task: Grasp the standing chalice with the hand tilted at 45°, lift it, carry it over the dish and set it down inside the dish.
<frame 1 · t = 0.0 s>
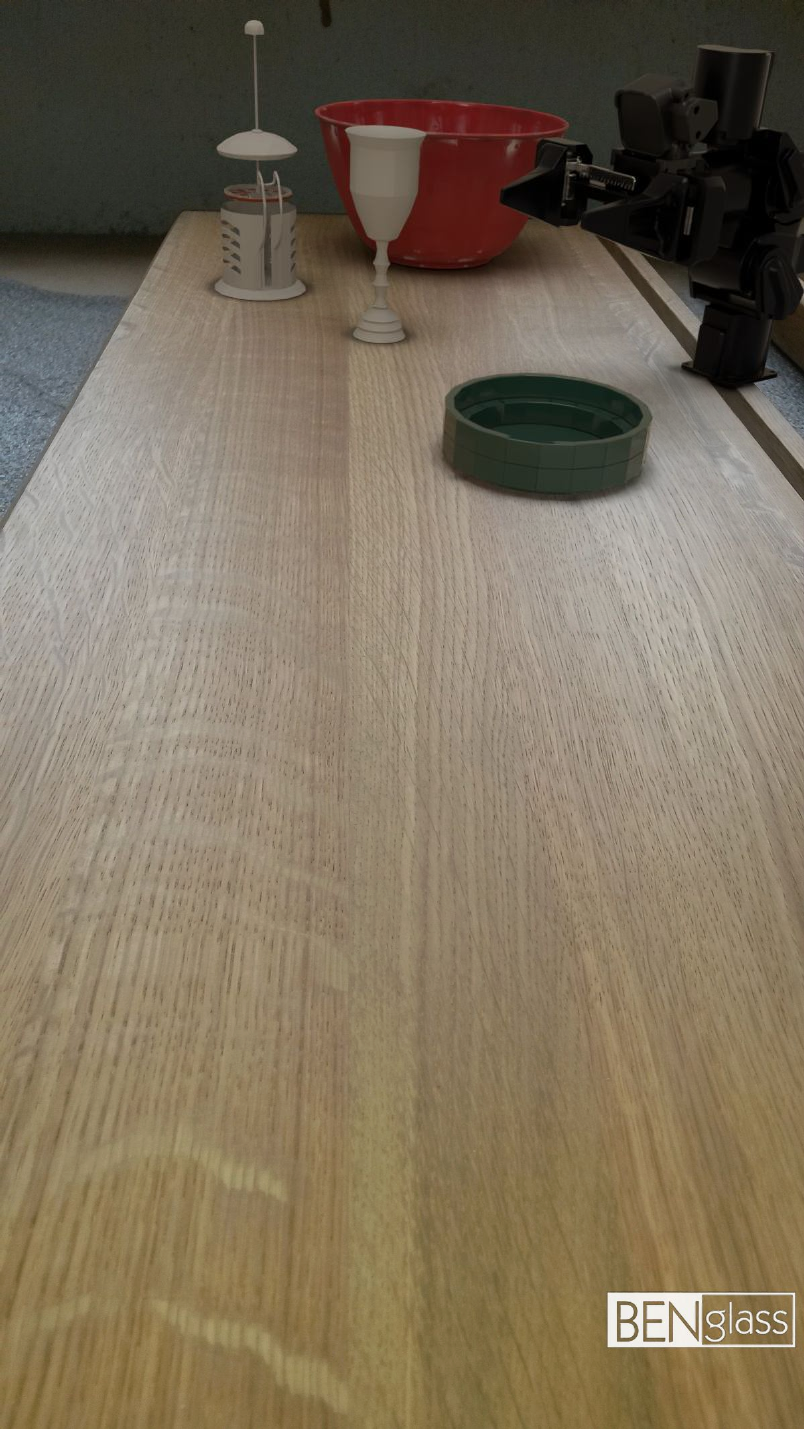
hand: (540, 208, 91), 17 cm above the table, tool horizontal, fingers open, 9 cm apart
chalice: (379, 337, 118), on the table
mixing bowl: (434, 257, 145), on the table
dish: (541, 459, 93), on the table
french press: (262, 291, 130), on the table
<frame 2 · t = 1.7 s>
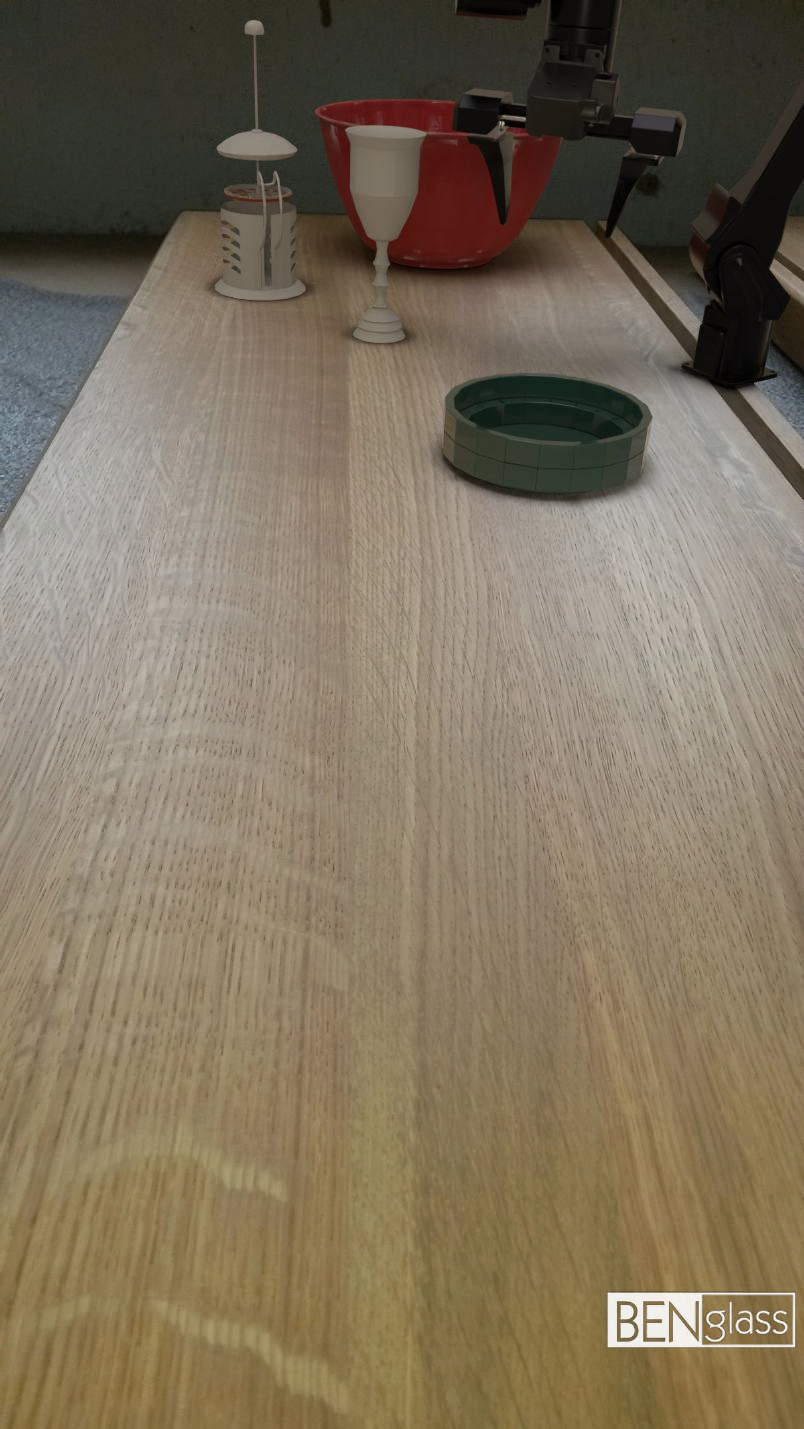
hand: (555, 231, 106), 12 cm above the table, tool pointing down, fingers open, 9 cm apart
nothing on the table moved.
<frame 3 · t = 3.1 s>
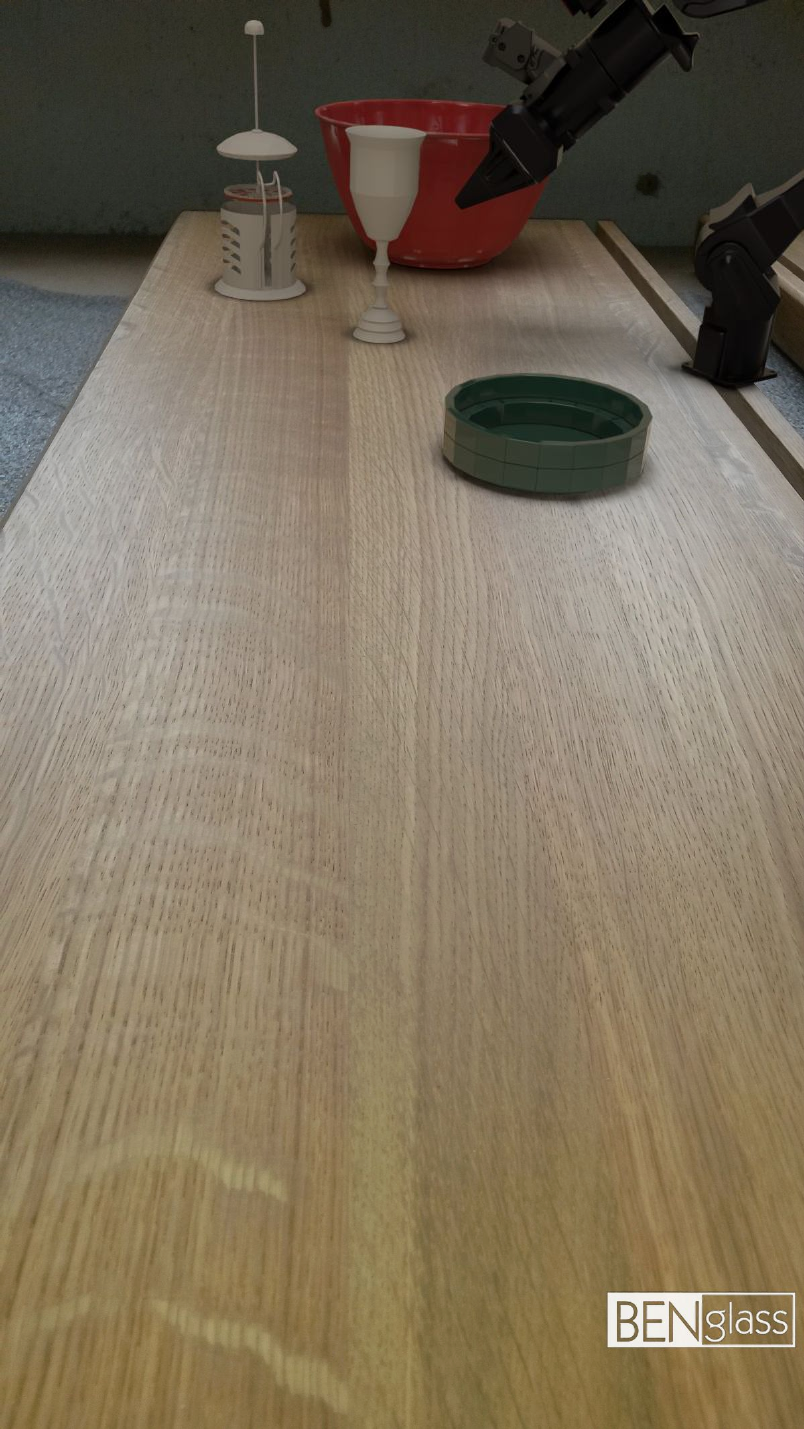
hand: (467, 195, 109), 13 cm above the table, tool tilted 45°, fingers open, 9 cm apart
nothing on the table moved.
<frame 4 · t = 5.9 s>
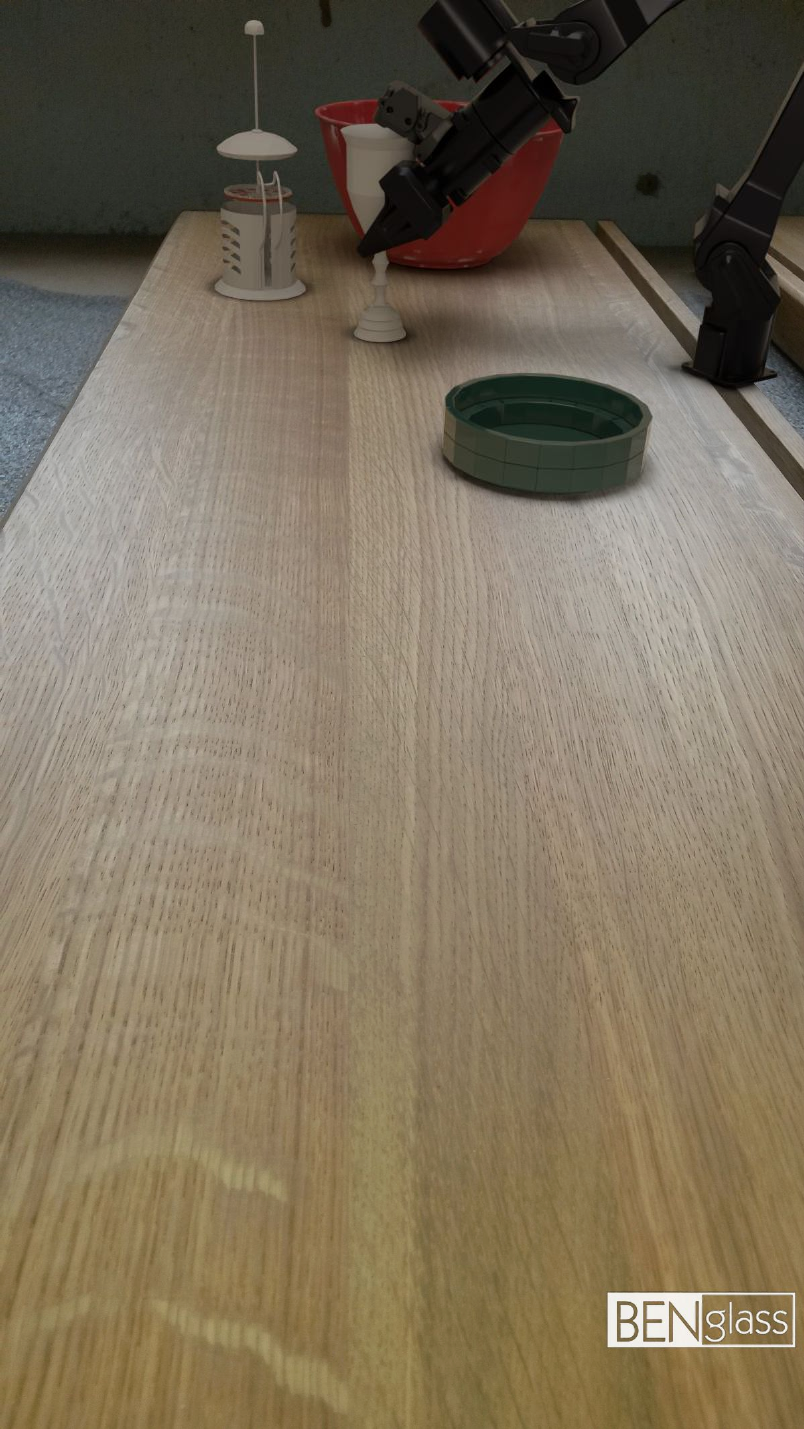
hand: (367, 246, 114), 8 cm above the table, tool tilted 45°, fingers closed on chalice, 5 cm apart
chalice: (380, 335, 118), on the table, touching gripper
everything else where it was.
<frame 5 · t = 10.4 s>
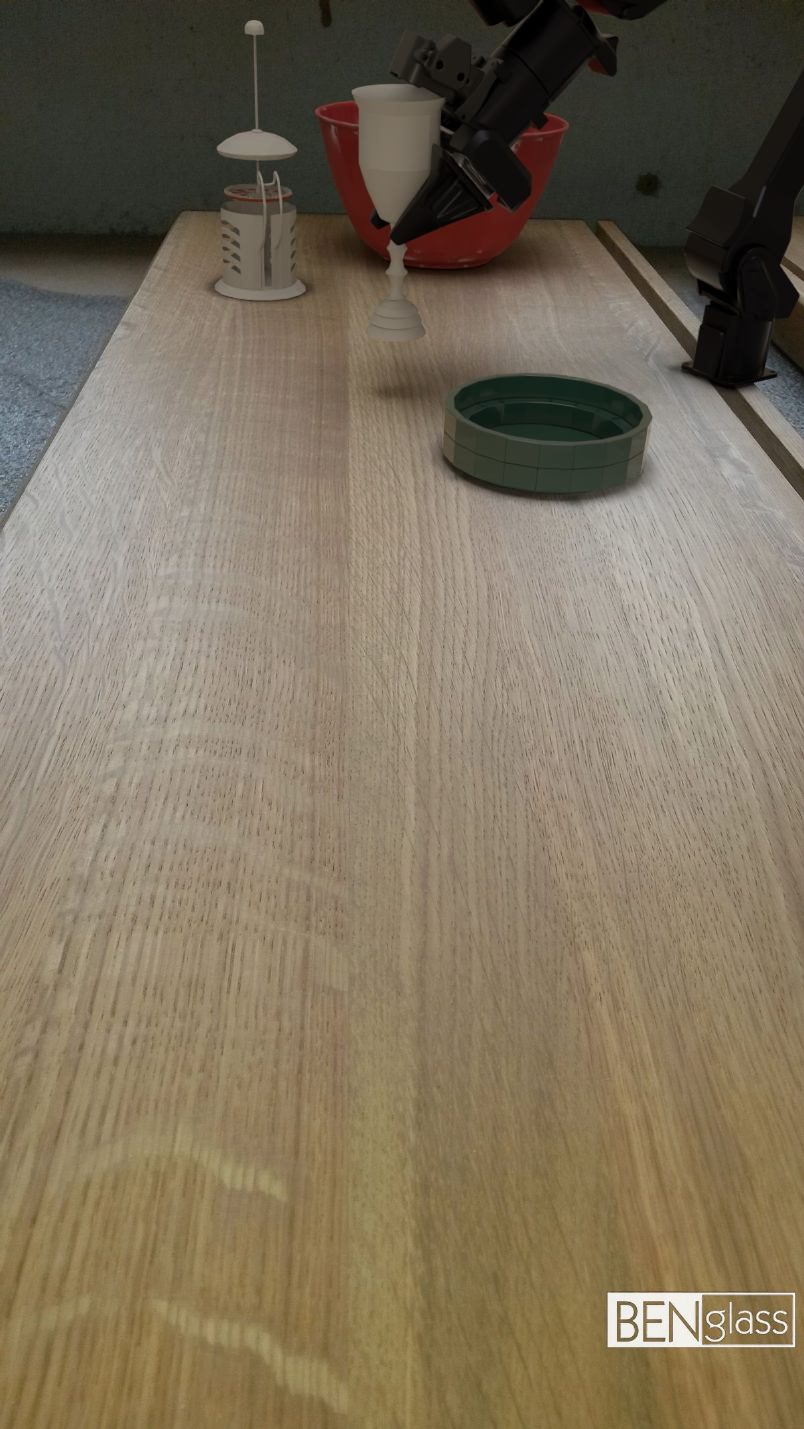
hand: (382, 233, 96), 13 cm above the table, tool tilted 45°, fingers closed on chalice, 5 cm apart
chalice: (395, 333, 102), point 5 cm above the table, touching gripper
everything else where it was.
when the fingers open (9 cm above the table, at t = 15.1 s): chalice stays where it is, resting on dish.
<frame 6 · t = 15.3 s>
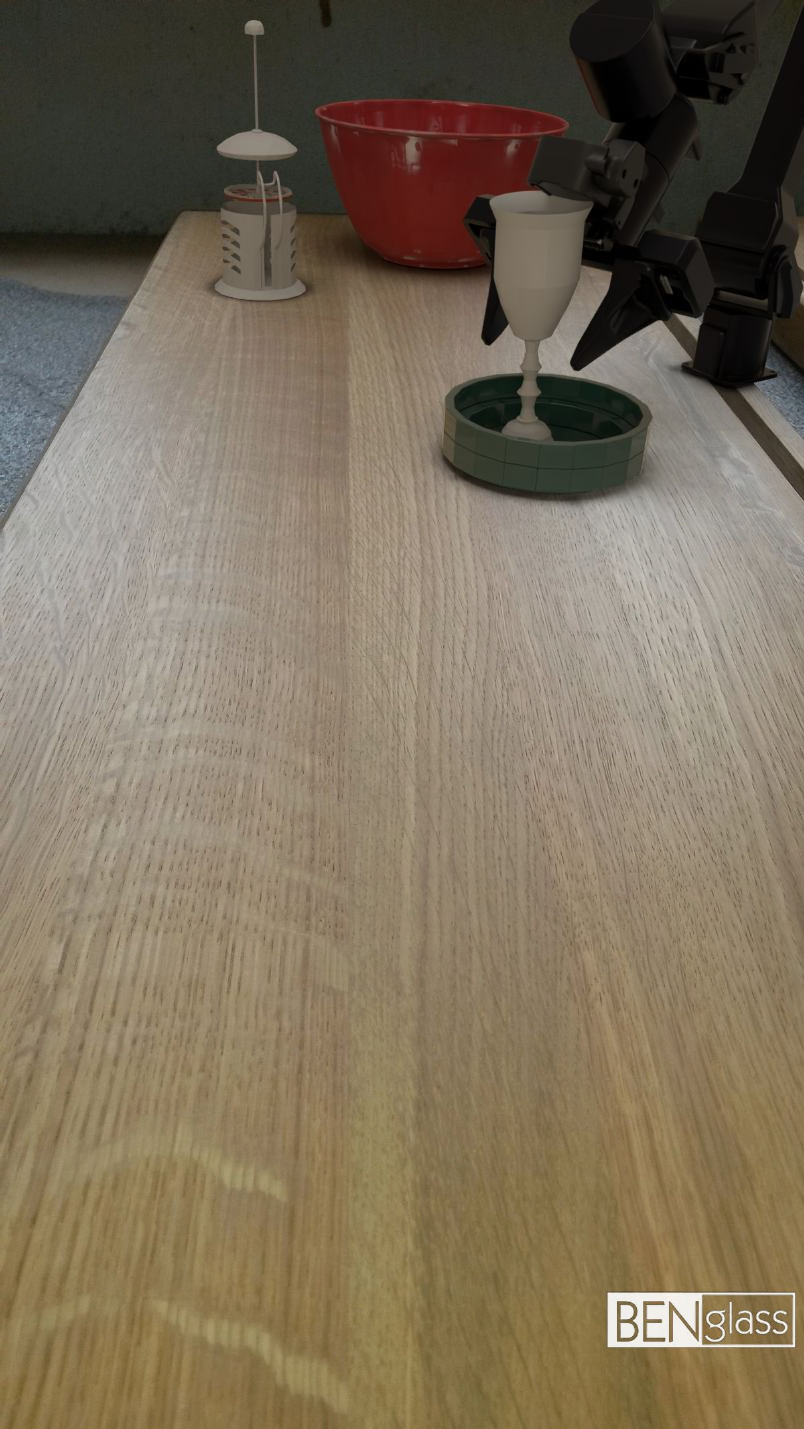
hand: (528, 354, 86), 9 cm above the table, tool tilted 45°, fingers open, 7 cm apart
chalice: (524, 456, 92), point 1 cm above the table, touching gripper, dish
everything else where it was.
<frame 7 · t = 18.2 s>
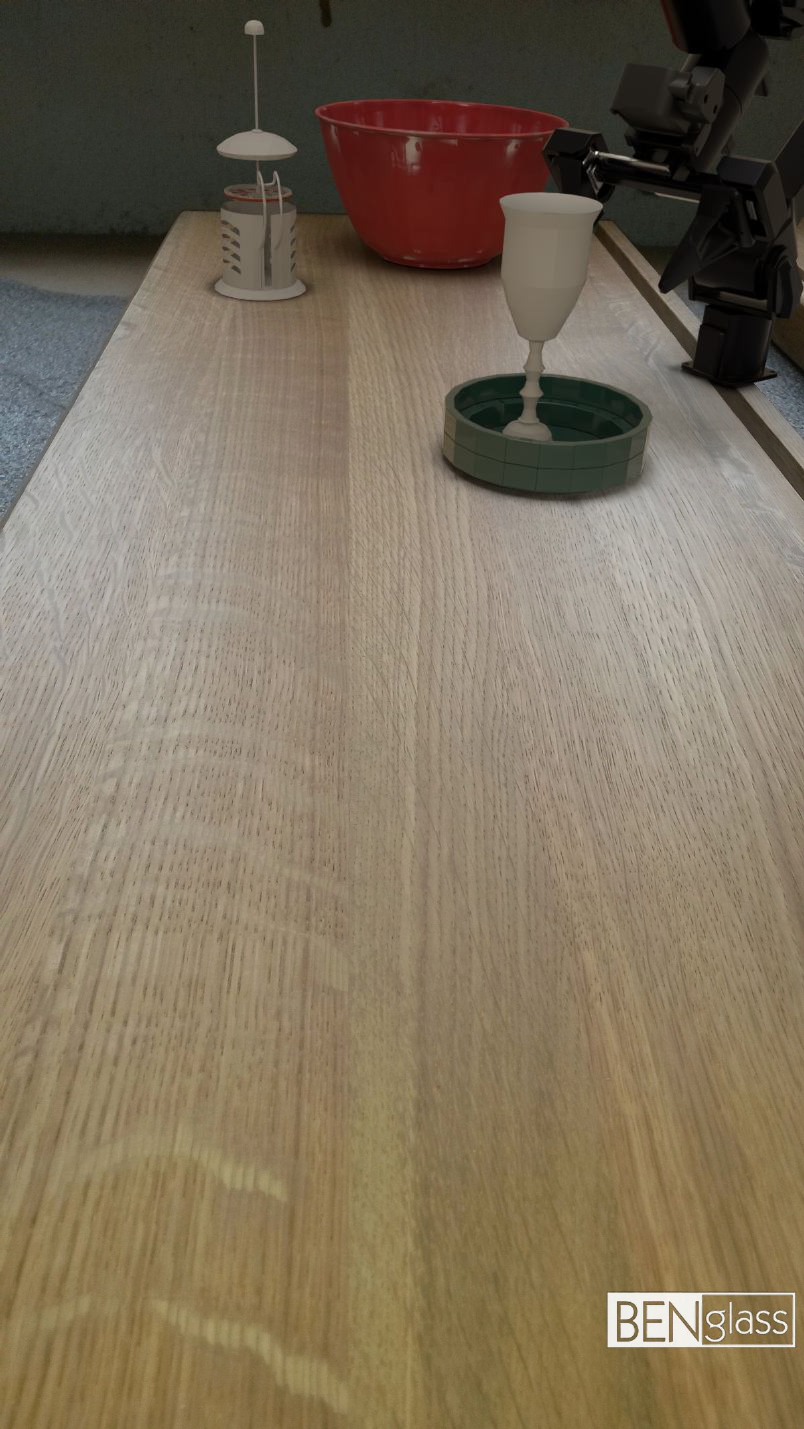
hand: (607, 277, 90), 13 cm above the table, tool tilted 45°, fingers open, 9 cm apart
chalice: (524, 457, 92), resting on dish
everything else where it was.
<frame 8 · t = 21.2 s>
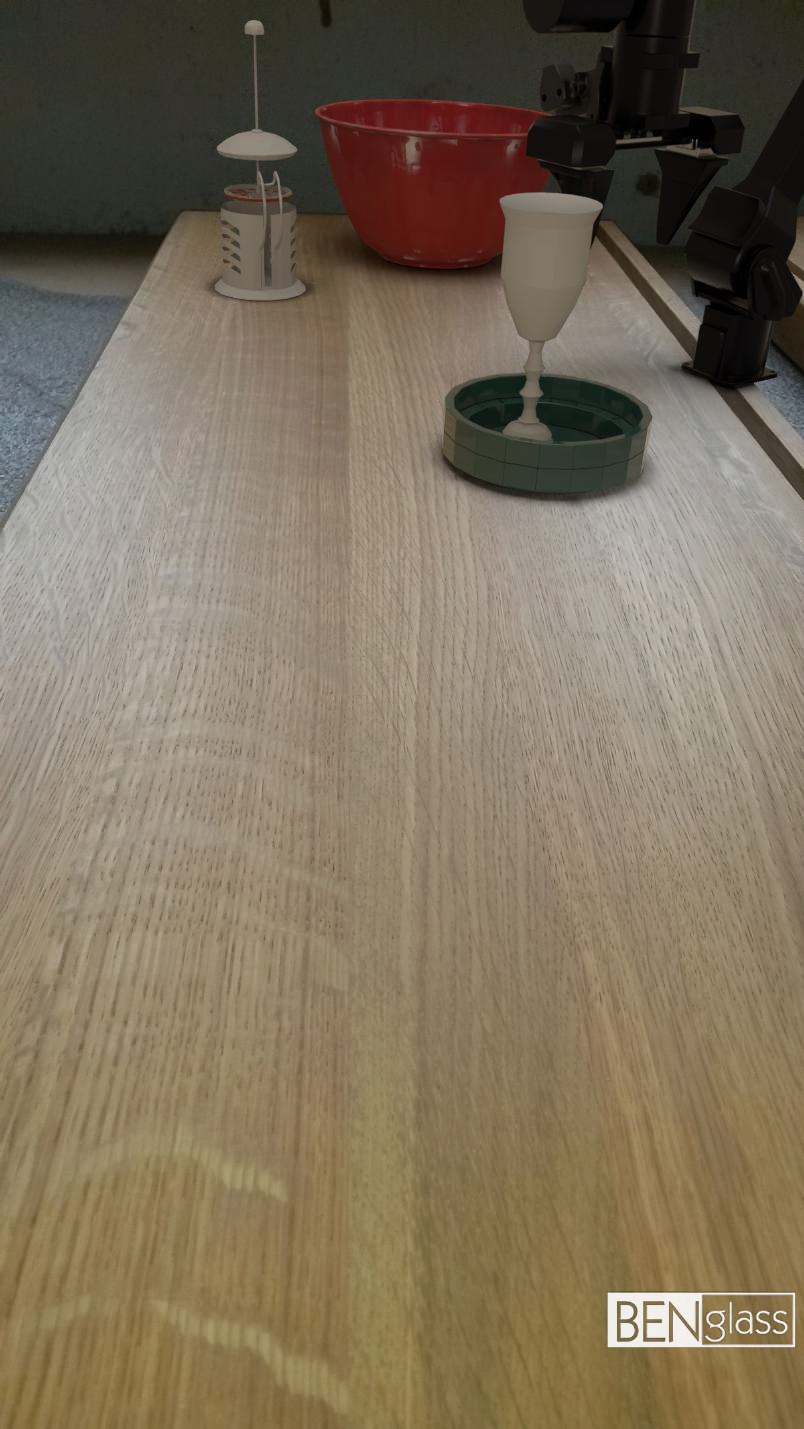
hand: (622, 250, 100), 12 cm above the table, tool pointing down, fingers open, 9 cm apart
nothing on the table moved.
at the end: chalice inside the target area in the dish (1.7 cm from its centre), point 0.4 cm above the dish's base; chalice tilted 0°; the gripper is holding nothing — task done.
